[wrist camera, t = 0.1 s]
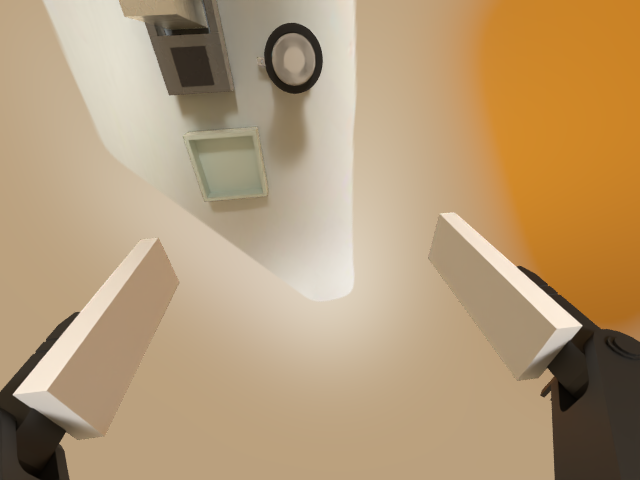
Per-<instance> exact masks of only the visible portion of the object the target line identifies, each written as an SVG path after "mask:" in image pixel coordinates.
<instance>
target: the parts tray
mask: <svg viewBox="0 0 640 480" xmlns="http://www.w3.org/2000/svg"><path fill="white" fill-rule="evenodd" d="M183 138H184V141H185V144H186V147H187V150H188V153H189V156H190V159H191V162H192V165H193V168H194V171H195V174H196V177H197V180H198V183H199V186H200V189H201V192H202V195H203V198H204V202H208V201H219V200H230V199H241V198H252V197H263V196H267V195H268V184H267V179H266V173H265V167H264V161H263V156H262V150H261V144H260V138H259V133H258V127H249V128H235V129H222V130H209V131H195V132H188V133H187V134H185V135H184V136H183Z"/></svg>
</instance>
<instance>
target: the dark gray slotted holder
mask: <svg viewBox="0 0 640 480" xmlns="http://www.w3.org/2000/svg"><path fill="white" fill-rule="evenodd" d="M203 1H204V5H205V10H206V14H207V18H208V23H209V27H210V32H211V33H210V34H191V35H172V36H166V34H165V31H164V28H163V27H159V26H156V25H152V24H149V23H145V24H146V27H147V30H148V33H149V36H150V39H151V42H152V45H153V48H154V51H155V54H156V57H157V60H158V63H159V66H160V69H161V72H162V75H163V78H164V81H165V84H166V87H167V90H168V93H169V95H180V94H195V93H210V92H225V91H232V90H234V84H233V79H232V75H231V70H230V65H229V60H228V55H227V50H226V45H225V40H224V36H223V31H222V26H221V21H220V16H219V11H218V6H217V1H216V0H203Z"/></svg>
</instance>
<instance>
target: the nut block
mask: <svg viewBox="0 0 640 480" xmlns="http://www.w3.org/2000/svg"><path fill="white" fill-rule="evenodd" d="M119 2H120V5H121V8H122V11H123V13H124V16H125V17H128V18H131V19H135V20H138V21H142V22H145V23H149V24H152V25H156V26H159V27H163V28H166V29H170V30H176V29H196V28H208V25H207V21H206V17H205V12H204V8H203V3H202V0H119Z"/></svg>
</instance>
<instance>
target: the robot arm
mask: <svg viewBox="0 0 640 480" xmlns="http://www.w3.org/2000/svg"><path fill="white" fill-rule="evenodd" d="M428 259H429V260H430V261H431V263H432V264H433V265H434V267H435V268H436V270H437V271H438V273H439V274H440V275H441V277H442V278H443V279H444V281H445V282H446V283H447V285H448V286H449V288H450V289H451V291H452V292H453V293H454V295H455V296H456V297H457V299H458V300H459V302H460V303H461V304H462V306H463V307H464V308H465V310H466V311H467V313H468V314H469V315H470V317H471V318H472V319H473V321H474V322H475V324H476V325H477V326H478V328H479V329H480V330H481V332H482V333H483V335H484V336H485V337H486V339H487V340H488V341H489V343H490V344H491V345H492V347H493V348H494V350H495V351H496V352H497V354H498V355H499V356H500V358H501V359H502V361H503V362H504V363H505V365H506V366H507V368H508V369H509V370H510V372H511V373H512V374H513V376H514V377H515V379H516V380H517V381H520V380H527V379H535V378H539V377H540V376H541V374H542V373H543V372H544V371H545V370H546V369H547V368H548V369H549V370H550V371H551V372H552V374H553V375H554V377H553V379H552V380H551V381H550V382H549V383H548V384H547V385H546V386H545V387H544V389H543V390H542V392H541V396H542V397H545V396H546V395H547V394H548V393H549V392H550V391H551V401H552V423H553V447H554V471H555V480H640V342H639V341H637V340H635V339H634V338H632V337H630V336H628V335H626V334H623V333H621V332H618V331H613V330H609V329H600V328H599V327H598V326H597V325H595V324H594V323H593V322H592V321H591V320H589V319H588V318H587V317H586V316H585V315H583V314H582V313H581V312H580V311H579V310H578V309H576V308H575V307H574V306H573V305H572V304H571V303H569V302H568V301H567V300H566V299H565V298H563V297H562V296H561V295H558V294H557V292H556V291H555V290H554V289H553V288H552V287H550V286H548V284H547V283H546V282H544V281H543V280H542V279H541V278H540V277H539V276H537V275H536V274H535V273H533V272H531V271H529V270H527V269H525V268H523V267H522V266H515V265H513V264H512V263H511V262H510V261H509V260H508V259H507V258H506V257H504V256H503V255H502V254H501V253H500V252H499V251H498V250H497V249H495V248H494V247H493V246H492V245H491V244H490V243H489V242H488V241H486V240H485V239H484V238H483V237H482V236H481V235H479V234H478V233H477V232H476V231H475V230H474V229H473V228H472V227H471V226H470V225H468V224H467V223H466V222H465V221H464V220H463V219H462V218H461V217H459V216H458V215H457V214H456V213H454V212H452V213H441V214H439V218H438V221H437V225H436V229H435V233H434V237H433V241H432V245H431V249H430V253H429V257H428ZM178 284H179V281H178V278H177V276H176V274H175V272H174V270H173V268H172V266H171V263H170V261H169V259H168V257H167V255H166V253H165V251H164V248H163V246H162V244H161V242H160V240H159V238H149V239H141V240H140V241H139V242H138V243H137V245H136V246H135V247H134V248H133V249H132V251H131V252H130V253H129V254H128V255H127V257H126V258H125V259H124V260H123V261H122V262H121V264H120V265H119V266H118V268H117V269H116V270H115V271H114V272H113V273H112V275H111V276H110V277H109V278H108V279H107V281H106V282H105V283H104V284H103V286H102V287H101V288H100V289H99V290H98V292H97V293H96V294H95V295H94V296H93V298H92V299H91V300H90V301H89V302H88V304H87V305H86V306H85V307H84V309H83V310H82V311H81V312H75V313H74V314H72V315H71V316H70V317H68V318H67V319H66V320H64V321H63V322H62V323H60V324H59V325H58V326H57V327H56V328H55V330H54V331H53V332H52V333H51V334H50V335H49V336H48V338H47V339H46V342H43V343H42V344H41V346H40V347H39V348H38V349H37V350H36V353H35V354H33V355H32V356H31V357H30V358H29V359H28V361H27V362H26V363H25V364H24V365H23V366H22V367H21V369H20V370H19V371H18V372H17V373H16V374H15V375H14V377H13V378H12V379H11V380H10V381H9V382H8V384H7V385H6V386H5V387H4V388H3V389H2V390H1V392H0V480H69V475H68V470H67V464H66V458H65V452H64V450H63V448H62V446H61V445H60V444H59V442H60V441H61V439H62V438H63V436H64V434H65V433H66V432H67V433H68V434H70V435H71V436H73V437H74V438H76V439H77V440H80V439H88V438H95V437H102V436H105V435H106V433H107V430H108V428H109V426H110V424H111V422H112V420H113V418H114V416H115V414H116V412H117V410H118V408H119V406H120V404H121V402H122V400H123V397H124V395H125V393H126V391H127V389H128V387H129V385H130V383H131V381H132V379H133V377H134V375H135V373H136V371H137V369H138V367H139V365H140V362H141V360H142V358H143V356H144V354H145V352H146V350H147V348H148V346H149V344H150V342H151V340H152V338H153V336H154V334H155V332H156V330H157V327H158V325H159V323H160V321H161V319H162V317H163V315H164V313H165V311H166V309H167V307H168V305H169V303H170V301H171V299H172V297H173V294H174V292H175V290H176V288H177V286H178Z"/></svg>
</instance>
